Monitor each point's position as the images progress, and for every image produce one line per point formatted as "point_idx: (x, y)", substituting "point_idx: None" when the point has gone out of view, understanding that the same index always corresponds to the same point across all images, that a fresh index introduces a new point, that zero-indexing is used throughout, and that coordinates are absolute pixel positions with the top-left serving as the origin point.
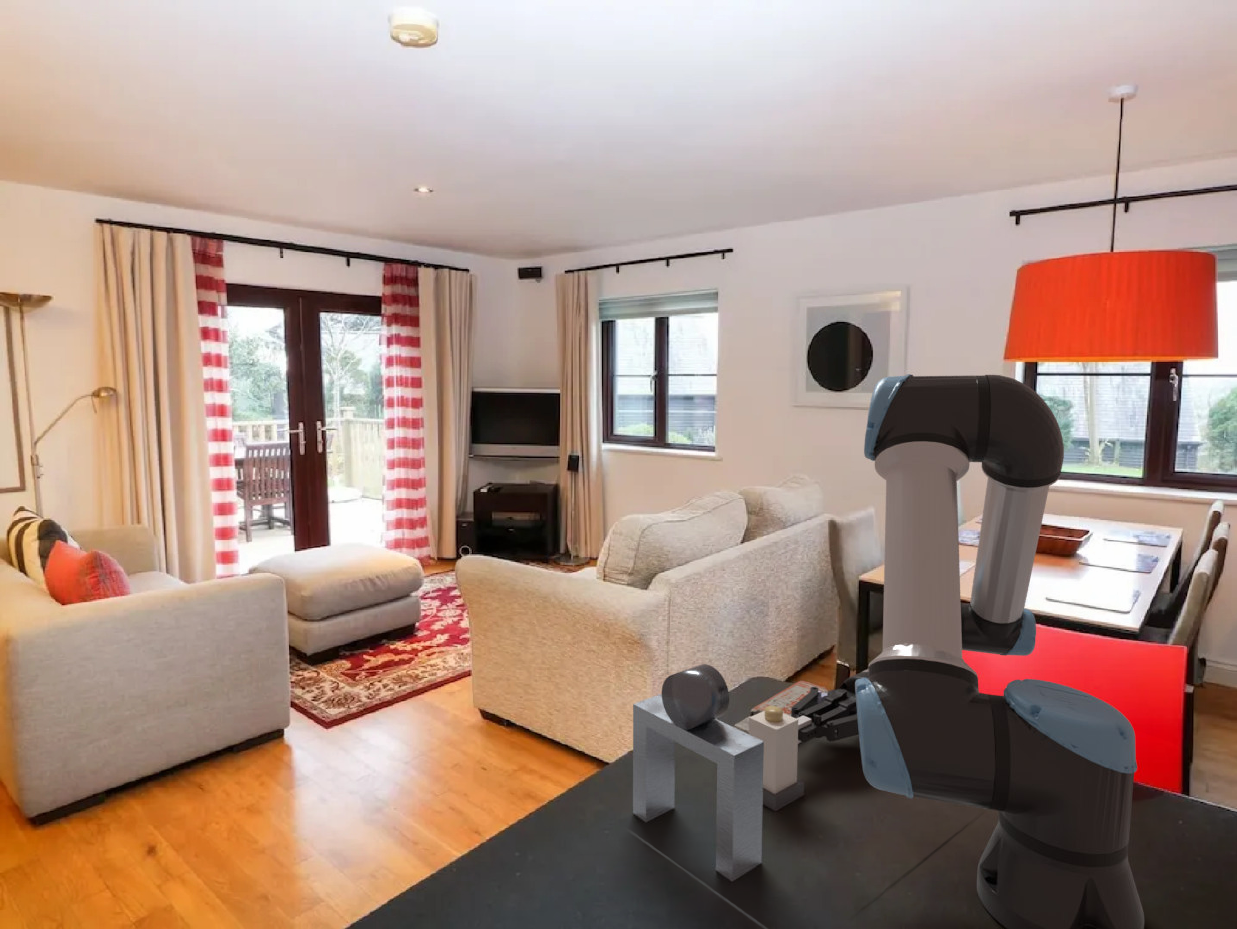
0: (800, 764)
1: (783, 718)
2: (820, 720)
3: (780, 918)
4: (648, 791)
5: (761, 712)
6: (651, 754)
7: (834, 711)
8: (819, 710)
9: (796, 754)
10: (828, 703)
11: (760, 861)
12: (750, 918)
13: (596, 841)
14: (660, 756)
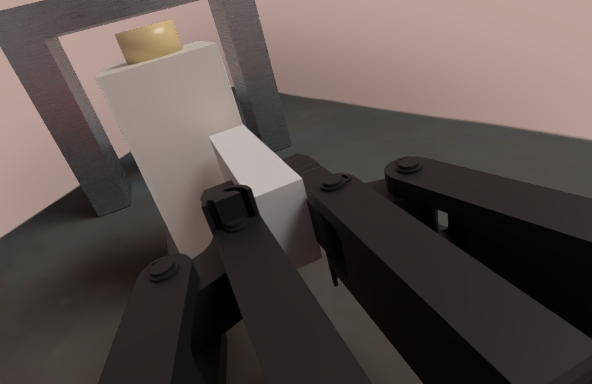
0: (366, 367)
1: (136, 63)
2: (209, 224)
3: (25, 222)
4: (239, 100)
5: (206, 42)
6: (224, 48)
7: (311, 356)
8: (384, 270)
9: (151, 191)
10: (536, 374)
11: (96, 211)
12: (54, 202)
13: (245, 122)
14: (231, 58)
